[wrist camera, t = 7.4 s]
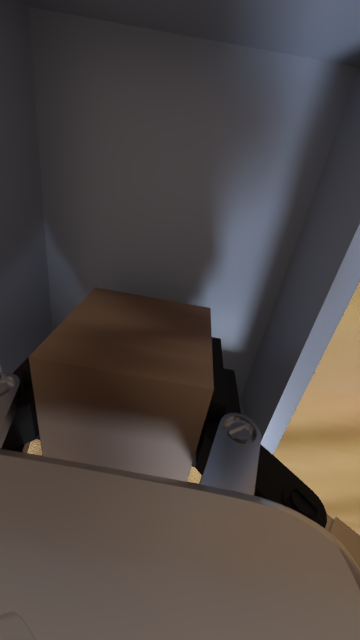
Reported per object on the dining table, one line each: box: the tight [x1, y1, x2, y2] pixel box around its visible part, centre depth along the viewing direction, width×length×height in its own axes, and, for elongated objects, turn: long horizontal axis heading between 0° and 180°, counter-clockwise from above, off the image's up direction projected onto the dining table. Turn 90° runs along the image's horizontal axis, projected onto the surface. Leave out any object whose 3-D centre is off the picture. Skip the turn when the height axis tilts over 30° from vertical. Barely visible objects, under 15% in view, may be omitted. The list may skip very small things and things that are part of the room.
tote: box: [0, 0, 360, 455], centre depth 12 cm, size 18×14×5 cm
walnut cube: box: [29, 287, 214, 482], centre depth 11 cm, size 5×5×5 cm
